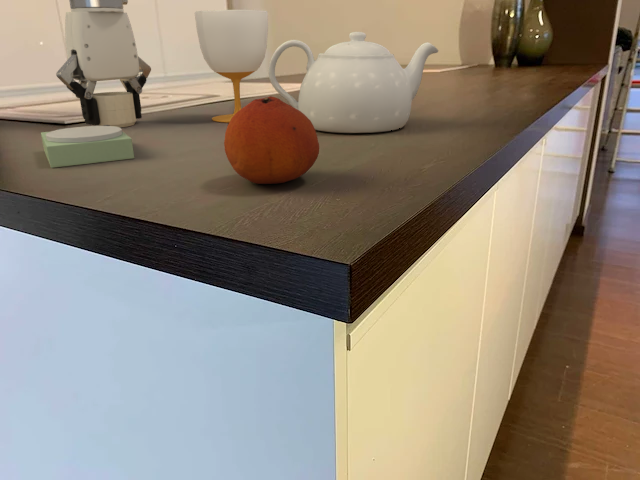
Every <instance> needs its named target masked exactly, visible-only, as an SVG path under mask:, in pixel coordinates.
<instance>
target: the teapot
mask: <svg viewBox="0 0 640 480" xmlns="http://www.w3.org/2000/svg"><path fill="white" fill-rule="evenodd" d="M348 36H349V39H350V40H349V41H342V42H339V43H336V44H333V45H331V46H330V47H328V48H327V49H326V50H325V51H324V52H322V53H321V52H320V53H318V55H317V58H316V59H315V57H314V54H313V51H312V49H311V47H310V46H309V45H308V44H307V43H305V42H303V41H302V40H298V39H289V40H287V41H285V42H283V43H281V44H280V45H279V46H278V47H276V49H275V51H274V52H273V54H272V55H271V58H270V60H269V63H268V70H267V71H268V79H269V81H270V84H271V85H272V88H273V89H274V90H275V91H276V92H277V93H278V94H279V95H280V96H281V97H282V98H283V99H284V100H286V101H287V102H288V104H289V105H291V106H292V107H294V108H296V109H298V110H299V111H301V112H302V113H303V114H304V115H305V116H307V118H308V119H309V120H310V121H311V122H312V124H313V126H314V128H315V131H319V132H326V133H336V134H337V133H338V134H369V133H383V132H391V130H392V131H396V130H400V129H402V128H404V126H406V124H407V122H408V121H409V119H410V116H411V111H412V102H413V100H414V99H415V98H416V96H417V94H418V92H419V89H420V86H421V82H422V77H423V74H424V69H425V64H426V62H427V59H428V58H429V56H430V55H432V54H433V55H434V54H437V53H439V49H438V47H436V46H435V45H433V44H432V43H431V42H429V41H427V42H424V43H422V44H421V45H419V46H418V47H417V49H415V52H414V54H413V55H412V57H411V59H410V61H409V63H408V64H407V66H406V67H405V68H403V67H402V65H401V64H400V63H399V61H398V60H397V59H396V57H395V55H394V54H393V53H391V51H389V49H388V48H387V47H385V46H384V45H382V44H379V43H378V42H373V41H366V37H367V34H366V33H365V32H363V31H352V32H350V33H349V35H348ZM292 47H294V48H295V47H296V48H300V49H302V50H303V51H304V53H305V54H306V57H307V63H306V67H305V68H306V73H305V75H304V77H303V79H302V81H301V84H300V88H299V92H298V100H297V99H296V98H294V97H293V96H292V94H290V93H289V92H287V91H286V90H285V89H284V88H283V87H282V86H281V84H280V83H279V81H278V79H277V77H276V65H277V62H278V60H279V58H280V56H281V55H282V54H283V53H284V51H286V50H287V49H289V48H292ZM399 128H400V129H399Z"/></svg>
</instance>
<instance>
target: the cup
mask: <svg viewBox="0 0 640 480" xmlns="http://www.w3.org/2000/svg"><path fill="white" fill-rule="evenodd" d="M194 19H195V26H196V27H195V28H196V32H197V38H198V43H199V47H200V50H201V53H202V57H203V59H204V61H205V62H206V64H207V65H208V67H209V69H211V70H212V71H213V72H214V73H216V74H218V75H220V76H222V77H223V78H226V79H228V80H230V81H231V83H232V89H233V95H234V96H233V98H234V109H233V113H228V114H221V115H216V116H213V117H212V118H211V120H212V121H213V122H216V123H226V124H229V122H230V120H231V118H232V117H233V116H234V115H235V114H236V113H237V112H238V111H239V110H241V109H242V102H241V81H242V80H243V79H245V78H246V77H248V76H250V75H252V74H254V73H255V72H256V71H258V70H259V69H260V67H261V65H262V63H263V62H264V60H265V58H266V52H267V48H268V34H269V11H268V10H264V9H263V10H262V9H209V10H198V11H197V10H196V11H194Z"/></svg>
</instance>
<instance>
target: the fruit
mask: <svg viewBox="0 0 640 480" xmlns="http://www.w3.org/2000/svg"><path fill="white" fill-rule="evenodd" d="M318 139H319V137H318V134H317V130H315V128H314V126H313V124H312V122H311V121H310V120H309V119H308V118H307V116H305V115H304V114H303V113H302V112H301V111H299V110H298V109H296V108H294V107H292V105H291V104H289V103H287V102H284V101H283V100H281V99H280V98H278V97H275V96H272V95H270V96H267V97H262V98H256V99H253V100H251V101H250V102H249V103H247V104H246V105H245V106H243V107H241V110H239V111H238V112H237V113H236V114H235V115H234V116H233V117H232V118H231V120H230V122H229V123H227V126H226V129H225V132H224V140H223V142H224V143H223V145H224V152H225V156H226V158H227V160H228V162H229V163H230V166H231V167H232V169H233V170H234V172H236V174H238V176H240V177H242V178H244V179H245V180H247V181H249V182H250V183H253V184H256V185H257V184H258V185H271V184H274V185H275V184H285V183H287V182H290V181H293V180H296V179H298V178H300V177H302V176H303V175H304V174H305V173H307V172H308V171H309V170H310V169H311V168H312V167H313V166H314V164H315V163H316V161H317V159H318V158H319V157H318V156H319V154H320V142H319V140H318Z"/></svg>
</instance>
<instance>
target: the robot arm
mask: <svg viewBox="0 0 640 480" xmlns="http://www.w3.org/2000/svg"><path fill="white" fill-rule="evenodd" d="M68 1H69V7H70V11H67V12H65V18H64V19H65V21H64V32H65V33H64V37H65V38H64V39H65V48H66V49H65V51H66V61H65V62H64V63H63V65H62V66H61V67H60V68H59V69H58V70H57V71H56V73H55V75H56V77H57V79H58V80H60V82H61V83H63V84H64V85H65V86H66V88H67V90H69V91H70V92H72V94H74V95H75V98H77V99H79V103H80V109H81V115H82V118H83V120H84V123H85V125H89V126H95V125H99V124H100V118H99V112H98V105H97V100H96V99H93V97H92V96H93V93H95V88H96V85H97V82H105V81H116V80H117V81H118V80H119V81H120V83H121V85H122V87H123V88H124V89H125V92H132V93H133V100H134V107H135V114H136V120H138V119H142V118H143V117H142V105H141V96H140V94H142V93H143V88H144V86H145V85H146V83H147V79H148V77H149V75H150V73H151V72H152V67H151V66H150V65H149V64H148V63H147V62H145V60H143V58H141V57H139V55H138V49H137V45H136V39H135V35H134V31H133V27H132V24H131V22H130V18H129V15H128V13H127V12H125V11H124V6H127V5H128V3H129V0H68Z"/></svg>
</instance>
